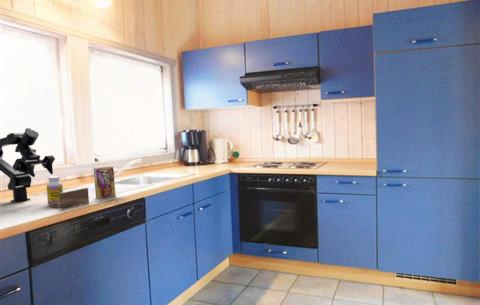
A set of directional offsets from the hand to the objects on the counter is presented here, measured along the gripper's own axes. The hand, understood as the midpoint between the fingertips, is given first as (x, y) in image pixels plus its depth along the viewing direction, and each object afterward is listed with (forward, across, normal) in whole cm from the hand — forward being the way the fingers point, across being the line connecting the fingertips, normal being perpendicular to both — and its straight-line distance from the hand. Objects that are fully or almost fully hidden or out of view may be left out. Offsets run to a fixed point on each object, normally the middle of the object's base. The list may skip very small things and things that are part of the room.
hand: (43, 175), depth 176 cm
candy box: (+23, -20, +3) cm, 30 cm away
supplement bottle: (+15, 0, -4) cm, 16 cm away
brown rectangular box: (+21, 0, +2) cm, 21 cm away
